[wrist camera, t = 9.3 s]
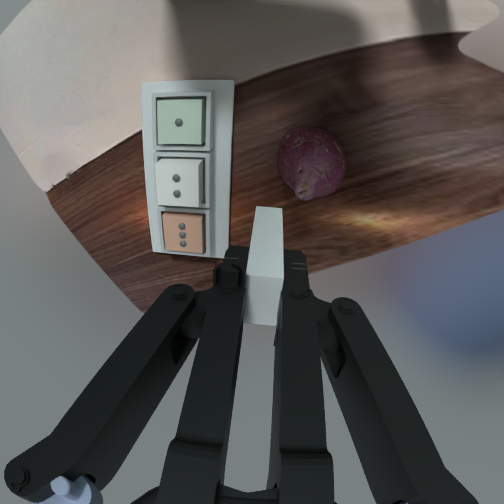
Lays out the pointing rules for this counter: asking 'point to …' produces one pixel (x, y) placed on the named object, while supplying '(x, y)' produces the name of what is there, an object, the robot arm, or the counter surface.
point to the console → (211, 151)
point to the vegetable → (311, 162)
